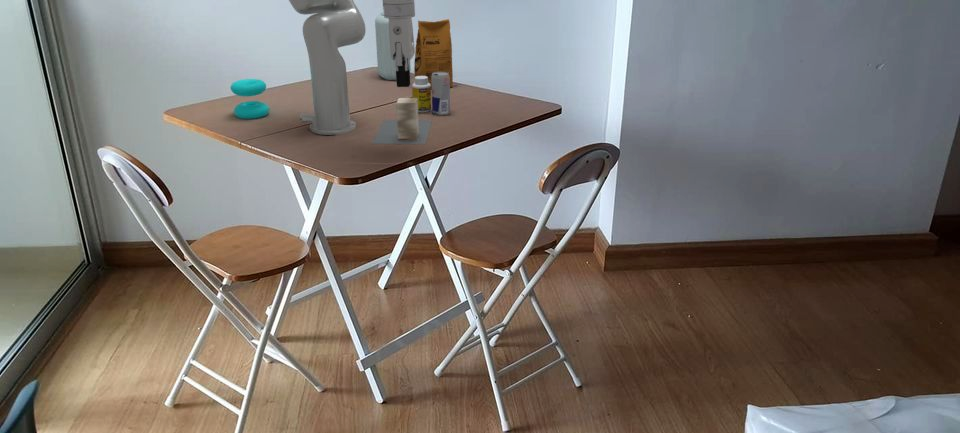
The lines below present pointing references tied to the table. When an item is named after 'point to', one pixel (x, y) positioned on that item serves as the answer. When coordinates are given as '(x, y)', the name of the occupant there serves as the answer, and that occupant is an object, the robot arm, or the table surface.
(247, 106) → the donuts
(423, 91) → the supplement bottle
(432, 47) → the coffee package
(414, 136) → the birch block
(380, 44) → the vase
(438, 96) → the energy drink
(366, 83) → the table surface
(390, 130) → the rubber mat
